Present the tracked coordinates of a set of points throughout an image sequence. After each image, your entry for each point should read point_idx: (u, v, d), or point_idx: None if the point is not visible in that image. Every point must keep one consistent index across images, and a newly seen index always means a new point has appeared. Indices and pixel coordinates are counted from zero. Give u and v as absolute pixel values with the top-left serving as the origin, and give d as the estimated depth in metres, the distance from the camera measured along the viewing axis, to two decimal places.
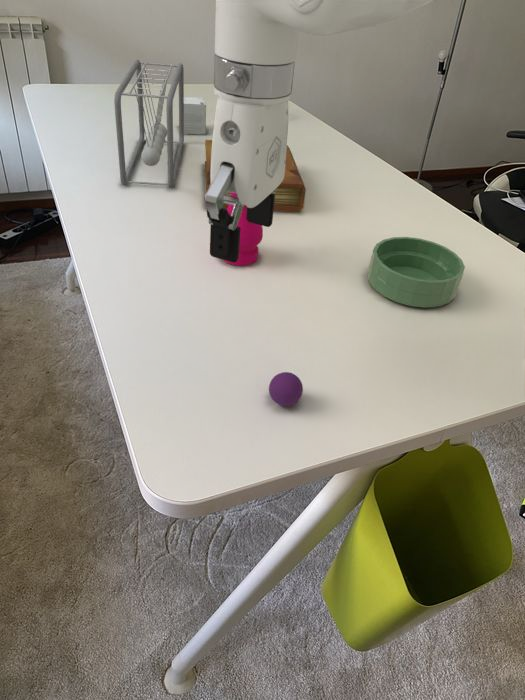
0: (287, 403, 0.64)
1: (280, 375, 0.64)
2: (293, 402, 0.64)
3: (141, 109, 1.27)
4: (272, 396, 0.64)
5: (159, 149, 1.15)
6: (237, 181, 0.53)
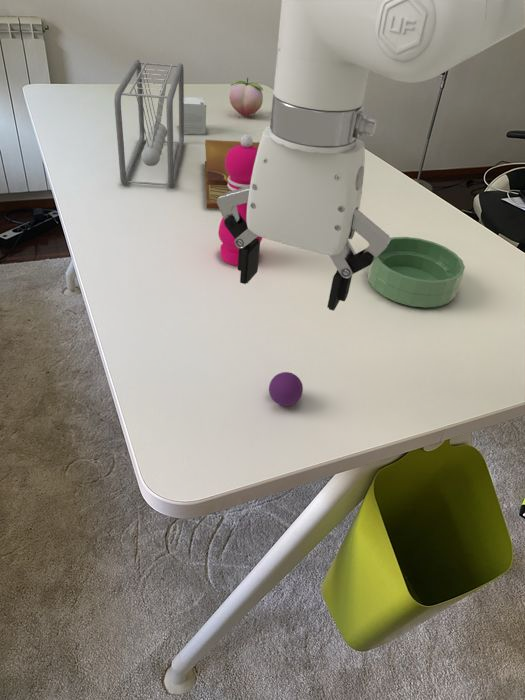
0: (287, 403, 0.64)
1: (280, 375, 0.64)
2: (293, 402, 0.64)
3: (141, 109, 1.27)
4: (272, 396, 0.64)
5: (159, 149, 1.15)
6: None
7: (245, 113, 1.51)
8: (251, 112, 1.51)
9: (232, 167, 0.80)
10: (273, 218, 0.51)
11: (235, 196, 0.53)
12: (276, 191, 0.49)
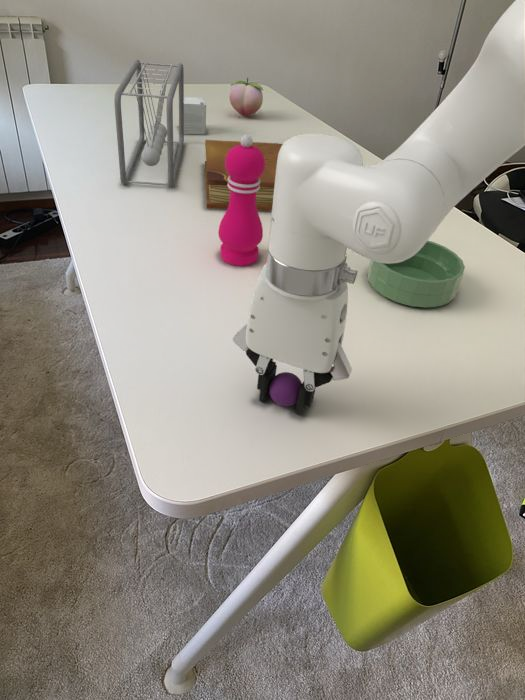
0: (287, 403, 0.64)
1: (280, 375, 0.64)
2: (293, 402, 0.64)
3: (141, 109, 1.27)
4: (272, 396, 0.64)
5: (159, 149, 1.15)
6: (342, 341, 0.59)
7: (245, 113, 1.51)
8: (251, 112, 1.51)
9: (232, 167, 0.80)
10: (269, 342, 0.59)
11: (244, 331, 0.61)
12: (271, 322, 0.57)
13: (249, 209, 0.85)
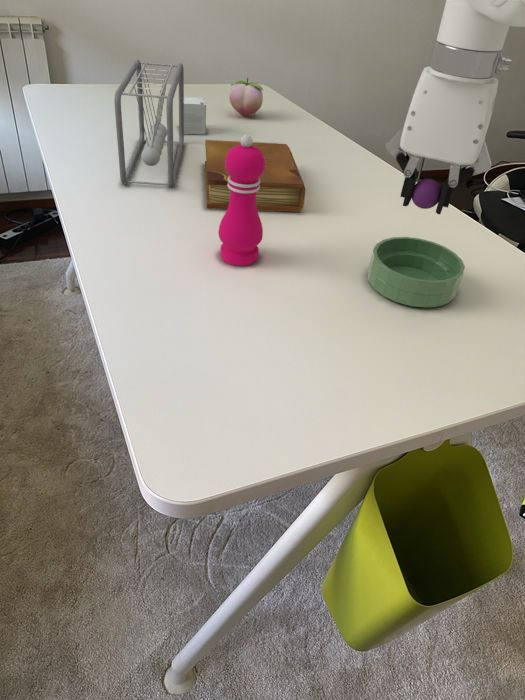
0: (429, 203, 0.75)
1: (423, 179, 0.75)
2: (434, 202, 0.75)
3: (141, 109, 1.27)
4: (416, 198, 0.75)
5: (159, 149, 1.15)
6: (484, 138, 0.70)
7: (245, 113, 1.51)
8: (251, 112, 1.51)
9: (232, 167, 0.80)
10: (425, 137, 0.70)
11: (397, 136, 0.72)
12: (431, 115, 0.68)
13: (249, 209, 0.85)
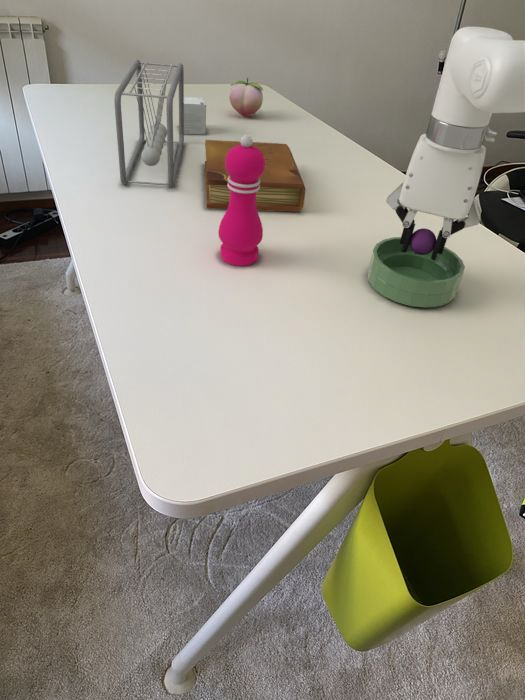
0: (425, 250, 0.84)
1: (420, 229, 0.84)
2: (430, 250, 0.84)
3: (141, 109, 1.27)
4: (414, 245, 0.84)
5: (159, 149, 1.15)
6: (474, 196, 0.79)
7: (245, 113, 1.51)
8: (251, 112, 1.51)
9: (232, 167, 0.80)
10: (421, 195, 0.79)
11: (397, 192, 0.82)
12: (426, 177, 0.77)
13: (249, 209, 0.85)
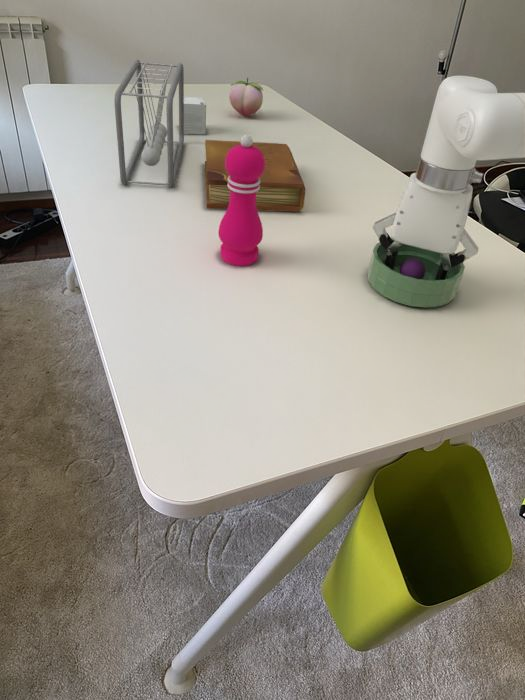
0: None
1: (407, 260, 0.88)
2: (420, 277, 0.87)
3: (141, 109, 1.27)
4: None
5: (159, 149, 1.15)
6: None
7: (245, 113, 1.51)
8: (251, 112, 1.51)
9: (232, 167, 0.80)
10: (412, 231, 0.82)
11: (385, 222, 0.85)
12: (416, 215, 0.80)
13: (249, 209, 0.85)
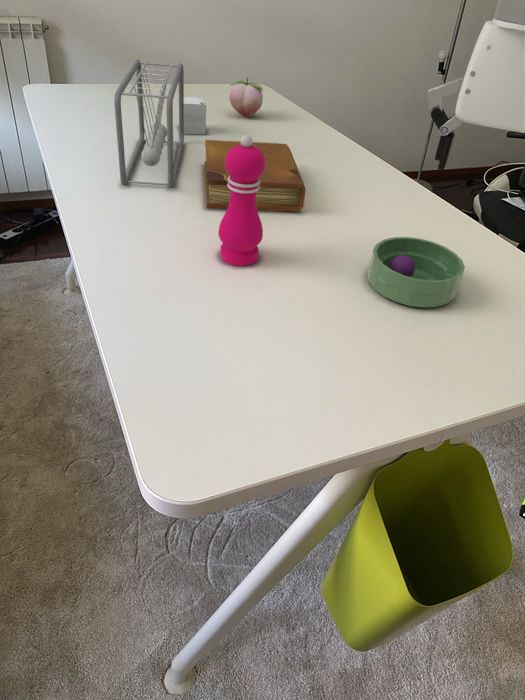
0: (406, 270, 0.87)
1: None
2: (409, 266, 0.87)
3: (141, 109, 1.27)
4: None
5: (159, 149, 1.15)
6: None
7: (245, 113, 1.51)
8: (251, 112, 1.51)
9: (232, 167, 0.80)
10: (486, 101, 0.61)
11: (445, 88, 0.63)
12: (494, 75, 0.59)
13: (249, 209, 0.85)
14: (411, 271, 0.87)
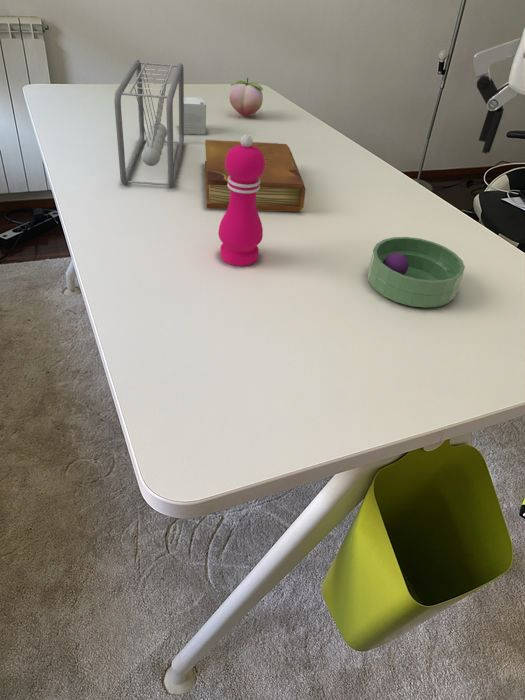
0: (397, 264, 0.87)
1: None
2: (398, 260, 0.87)
3: (141, 109, 1.27)
4: None
5: (159, 149, 1.15)
6: None
7: (245, 113, 1.51)
8: (251, 112, 1.51)
9: (232, 167, 0.80)
10: None
11: (497, 51, 0.51)
12: None
13: (249, 209, 0.85)
14: (403, 263, 0.87)
